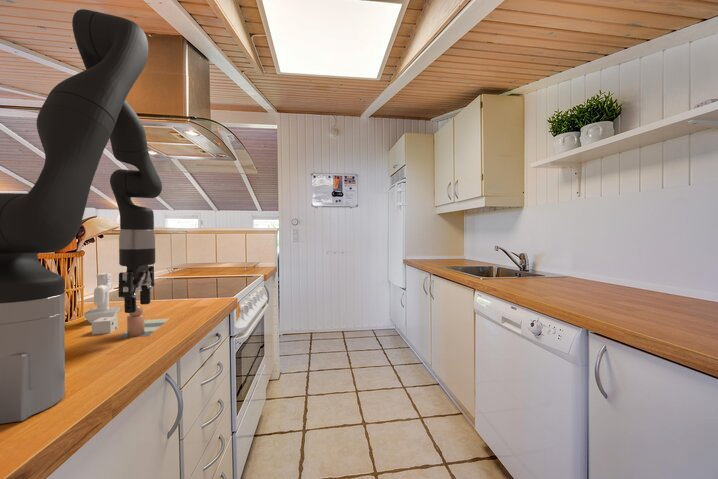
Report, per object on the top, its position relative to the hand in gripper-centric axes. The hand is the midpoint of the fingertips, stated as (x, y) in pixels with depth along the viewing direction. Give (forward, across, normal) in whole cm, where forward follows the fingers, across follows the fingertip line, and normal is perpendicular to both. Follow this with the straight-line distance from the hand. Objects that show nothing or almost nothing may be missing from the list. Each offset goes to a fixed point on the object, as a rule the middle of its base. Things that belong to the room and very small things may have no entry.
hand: (138, 308), depth 75 cm
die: (+8, +4, +10) cm, 13 cm away
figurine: (+8, +16, +16) cm, 24 cm away
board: (+8, +6, 0) cm, 9 cm away
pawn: (+7, 0, 0) cm, 7 cm away
